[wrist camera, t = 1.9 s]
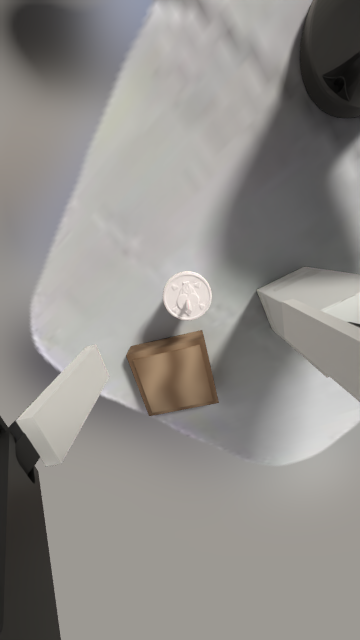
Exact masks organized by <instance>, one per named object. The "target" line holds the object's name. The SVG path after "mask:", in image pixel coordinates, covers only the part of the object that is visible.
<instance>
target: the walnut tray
mask: <svg viewBox="0 0 360 640" xmlns="http://www.w3.org/2000/svg"><path fill="white" fill-rule="evenodd" d="M126 357H127V359H128V362H129V364H130V367H131V370H132V372H133V375H134V378H135V380H136V383H137V385H138V388H139V391H140V393H141V396H142V399H143V401H144V404H145V407H146V409H147V412H148V414H149V416H153V415H158V414H163V413H168V412H173V411H179V410H184V409H189V408H194V407H199V406H204V405H210V404H215V403H219V401H218V397H217V393H216V388H215V384H214V379H213V375H212V371H211V366H210V362H209V357H208V353H207V349H206V344H205V340H204V336H203V332H202V330H201V331H196V332H192V333H187V334H183V335H179V336H174V337H170V338H165V339H161V340H156V341H152V342H148V343H143V344H139V345H134V346H131V347H130V349H129V351H128V353H127V355H126Z"/></svg>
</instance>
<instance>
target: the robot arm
mask: <svg viewBox="0 0 360 640" xmlns="http://www.w3.org/2000/svg"><path fill="white" fill-rule="evenodd" d="M300 62H301V72H302V77H303V81H304V84H305V87H306V89H307V91H308V93H309V95H310V97H311V98H312V100H313V101H314V103H315V104H316V105H317V106H318V107H319V108H320V109H322V110H323V111H324V112H326V113H328V114H330V115H332V116H335V117H340V118H353V117H358V116H360V0H313V2H312V5H311V7H310V9H309V12H308V15H307V18H306V21H305V25H304V29H303V33H302V40H301V50H300ZM282 313H283V325H284V337H285V339H286V340H287V341H289V342H290V343H291V344H292V345H293V346H294V347H296V348H297V349H298V350H299V351H300V352H301V353H303V354H304V355H305V356H306V357H307V358H309V359H310V360H311V361H312V362H313V363H314V364H316V365H317V366H318V367H319V368H320V369H321V370H323V371H324V372H325V373H326V374H327V375H329V376H330V377H331V378H332V379H333V380H334V381H336V382H337V383H338V384H339V385H340V386H342V387H343V388H344V389H345V390H346V391H347V392H349V393H350V394H351V395H352V396H353V397H354V398H356V399H357V400H358V401H359V402H360V324H357V323H353V322H345V321H343V320H341V319H339V318H336V317H334V316H332V315H329V314H327V313H325V312H323V311H320V310H318V309H316V308H313V307H311V306H309V305H307V304H304V303H302V302H300V301H297V300H295V299H290V300H285V301H282ZM109 377H110V376H109V374H108V371H107V369H106V367H105V364H104V362H103V360H102V357H101V355H100V353H99V350H98V348H97V345H92V346H87V347H85V348H84V349H83V351H82V352H81V353H80V354H79V355H78V356H77V357H76V358H75V359H74V360H73V361H72V362H71V363H70V364H69V365H68V366H67V367H66V368H65V369H64V370H63V371H62V373H61V374H60V375H59V376H58V377H57V378H56V379H55V380H54V381H53V382H52V383H51V384H50V385H49V386H48V387H47V388H46V389H45V390H44V392H43V393H41V394H40V395H39V396H38V397H37V398H36V399H35V400H34V401H33V403H32V404H31V405H30V406H29V407H28V408H27V409H26V410H25V411H24V412H23V413H22V414H21V415H20V416H19V417H18V418H17V419H16V420H15V421H14V422H13V423H12V424H11V425H10V427H9V428H8V427H7V425H6V424H5V423H4V421H3V419H2V418H1V416H0V640H61V638H60V630H59V623H58V615H57V608H56V600H55V593H54V585H53V579H52V571H51V563H50V556H49V548H48V541H47V533H46V526H45V518H44V511H43V504H42V496H41V489H40V482H39V474H38V470H37V469H36V467H35V466H34V465H35V464H36V462H37V461H38V459H39V458H41V460H42V461H43V463H44V464H45V466H46V467H48V466H52V465H58V464H62V462H63V461H64V459H65V457H66V455H67V453H68V451H69V450H70V448H71V446H72V444H73V442H74V440H75V439H76V437H77V435H78V433H79V431H80V430H81V428H82V426H83V424H84V422H85V420H86V419H87V417H88V415H89V413H90V411H91V409H92V408H93V406H94V404H95V402H96V400H97V399H98V397H99V395H100V393H101V391H102V389H103V388H104V386H105V384H106V382H107V380H108V378H109Z"/></svg>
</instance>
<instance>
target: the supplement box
mask: <svg viewBox="0 0 360 640" xmlns="http://www.w3.org/2000/svg"><path fill="white" fill-rule="evenodd" d="M257 293H258V295H259V298H260V300H261V303H262V305H263V308H264V310H265V313H266V315H267V318H268V320H269V323H270V325H271V328H272V330H273V331H274V332H276V333H277V334H278V335H279V336H280V337H281V338H282V339H284V340H285V341H286V342H287V343H288V344H289V345H290V346H292V347H293V348H294V349H295V350H296V351H297V352H299V353H300V354H301V355H302V356H303V357H304V358H305V359H307V360H308V361H309V362H310V363H311V364H312V365H313V366H315V367H316V368H317V369H318V370H319V371H320V372H321V373H322V374H324V375H325V376H326V377H330V376H329V375H327V374H326V373H325V372H324V371H323V370H321V369H320V368H319V367H318V366H317V365H316V364H314V363H313V362H312V361H311V360H310V359H309V358H307V357H306V356H305V355H304V354H303V353H301V352H300V351H299V350H298V349H297V348H296V347H294V346H293V345H292V344H291V343H290V342H289V341H287V340H286V339H285V337H284V325H283V313H282V301H285V300H290V299H295V300H297V301H300V302H302V303H304V304H307V305H309V306H311V307H313V308H316V309H318V310H320V311H323V312H325V313H327V314H329V315H332V316H334V317H336V318H339V319H341V320H343V321H345V322H353V323H357V324H360V274H354V273H347V272H340V271H333V270H326V269H319V268H311V267H302V268H300V269H298V270H296V271H294V272H292V273H290V274H288V275H286V276H284V277H282V278H280V279H278V280H276V281H274V282H271V283H269V284H267V285H265V286H263V287H261V288H259V289H257Z"/></svg>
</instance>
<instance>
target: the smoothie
mask: <svg viewBox="0 0 360 640" xmlns="http://www.w3.org/2000/svg"><path fill="white" fill-rule="evenodd" d="M211 300H212V293H211V289H210V286H209V284H208V282H207V281H206V280H205V278H204V277H203V276H201V275H199V274H198V273H195V272H191V271H184V272H180V273H177V274H176V275H174V276H172V277H171V278H170V279H169V280H168V282H167V283H166V285H165V287H164V291H163V301H164V305H165V307H166V309H167V311H168V312H169V313H170V314H171V315H172V316H174V317H176V318H178V319H180V320H194V319H197V318H199V317H201V316H202V315H203V314H204V313H205V312H206V311H207V310H208V308H209V306H210V304H211Z"/></svg>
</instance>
